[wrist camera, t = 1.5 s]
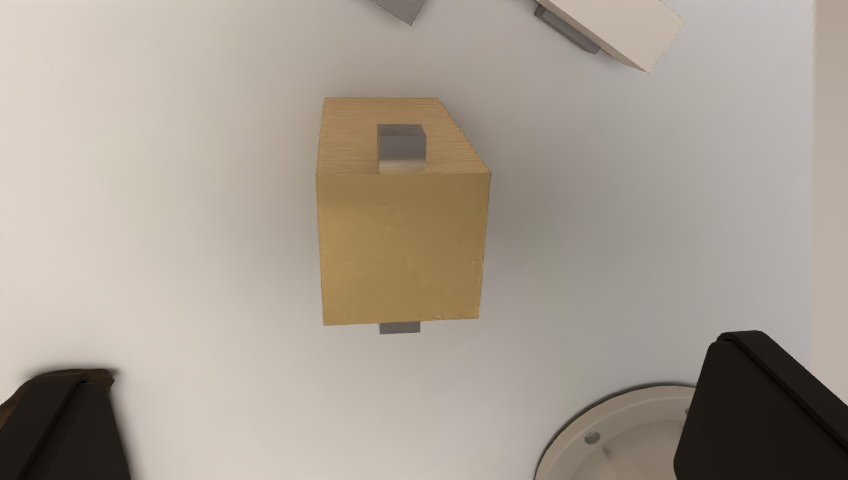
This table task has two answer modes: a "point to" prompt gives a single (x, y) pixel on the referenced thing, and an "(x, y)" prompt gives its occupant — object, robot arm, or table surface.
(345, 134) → the tan wooden block
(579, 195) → the table surface
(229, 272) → the table surface
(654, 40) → the socket
